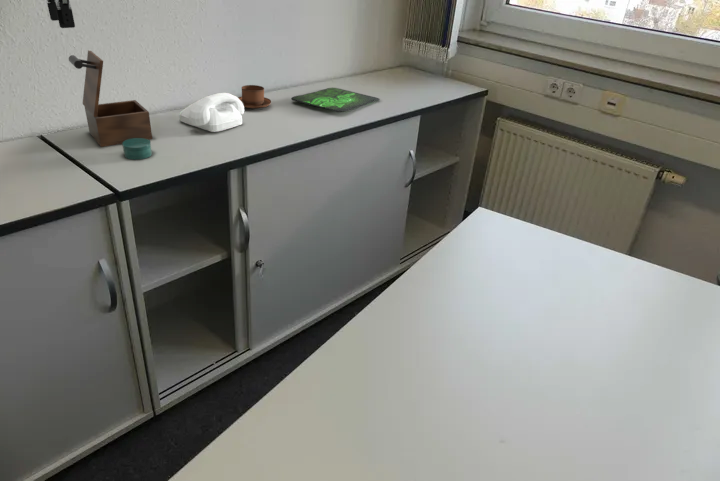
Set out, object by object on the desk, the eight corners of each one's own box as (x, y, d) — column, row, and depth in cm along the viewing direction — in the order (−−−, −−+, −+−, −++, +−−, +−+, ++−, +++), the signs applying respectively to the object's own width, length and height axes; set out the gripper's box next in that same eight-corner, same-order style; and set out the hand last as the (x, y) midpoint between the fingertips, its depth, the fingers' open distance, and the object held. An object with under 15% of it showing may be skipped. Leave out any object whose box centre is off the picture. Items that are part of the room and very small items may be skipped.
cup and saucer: (227, 104, 181) (226, 85, 178) (256, 99, 189) (255, 81, 186) (249, 113, 174) (249, 94, 171) (278, 107, 183) (278, 89, 180)
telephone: (253, 121, 169) (252, 91, 165) (205, 136, 154) (203, 103, 149) (216, 110, 176) (215, 81, 171) (167, 123, 161) (164, 92, 156)
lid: (91, 50, 142) (66, 46, 139) (103, 61, 135) (78, 56, 131) (85, 104, 147) (61, 101, 144) (97, 117, 140) (72, 114, 136)
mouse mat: (332, 88, 208) (332, 85, 207) (382, 99, 198) (382, 97, 198) (288, 100, 187) (288, 97, 186) (341, 114, 178) (341, 111, 177)
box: (139, 126, 159) (135, 99, 155) (152, 138, 151) (148, 111, 147) (89, 133, 151) (84, 105, 147) (101, 147, 144) (95, 118, 140)
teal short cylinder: (120, 158, 138) (118, 146, 136) (129, 148, 144) (127, 137, 142) (147, 160, 139) (145, 148, 137) (155, 150, 144) (153, 138, 143)
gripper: (20, -61, 125) (38, 18, 134) (35, -54, 114) (53, 31, 123) (55, -60, 129) (71, 16, 138) (73, -53, 118) (88, 29, 127)
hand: (62, 23), depth 131 cm, fingers open, 9 cm apart
